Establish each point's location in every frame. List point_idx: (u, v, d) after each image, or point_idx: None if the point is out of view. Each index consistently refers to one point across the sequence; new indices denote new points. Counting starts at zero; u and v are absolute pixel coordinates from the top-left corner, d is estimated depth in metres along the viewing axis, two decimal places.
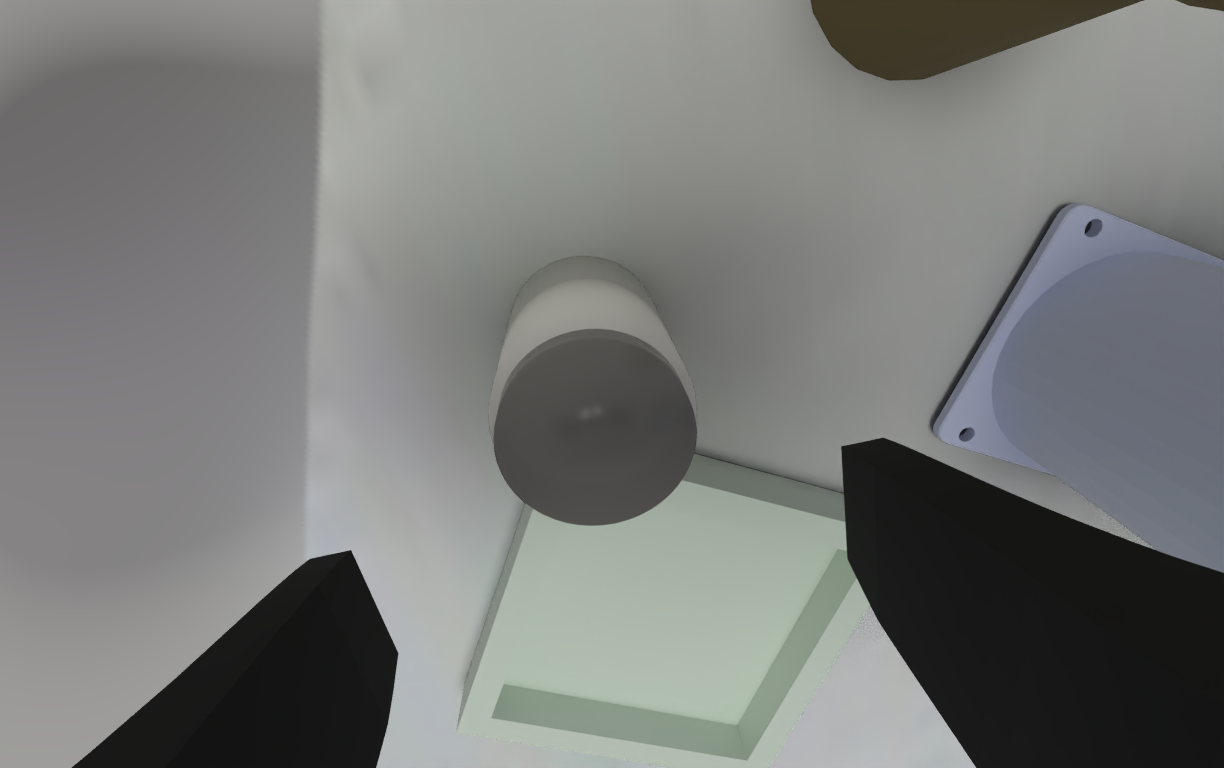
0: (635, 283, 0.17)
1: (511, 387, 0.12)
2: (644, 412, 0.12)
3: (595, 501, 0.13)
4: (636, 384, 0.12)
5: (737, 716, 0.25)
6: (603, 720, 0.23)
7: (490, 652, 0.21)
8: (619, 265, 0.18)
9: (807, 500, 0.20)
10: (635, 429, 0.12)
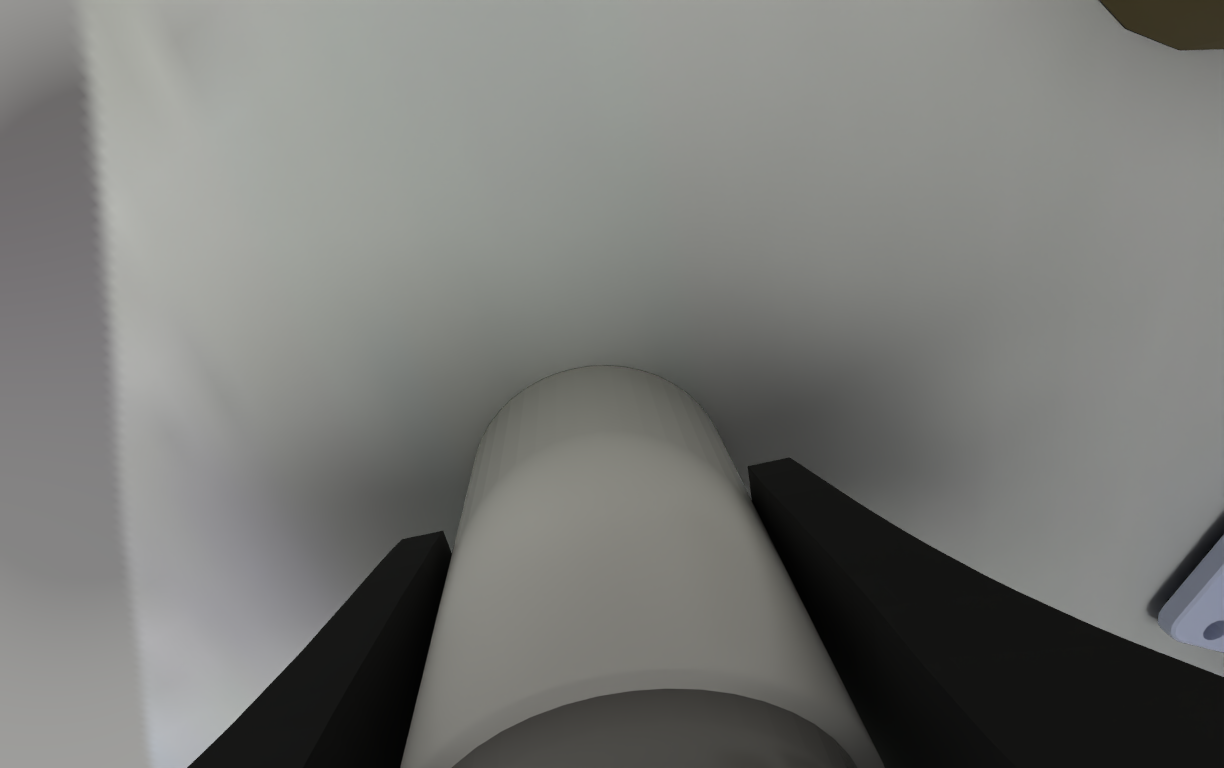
0: (700, 428, 0.09)
1: None
2: None
3: None
4: None
5: None
6: None
7: None
8: (665, 380, 0.10)
9: None
10: None
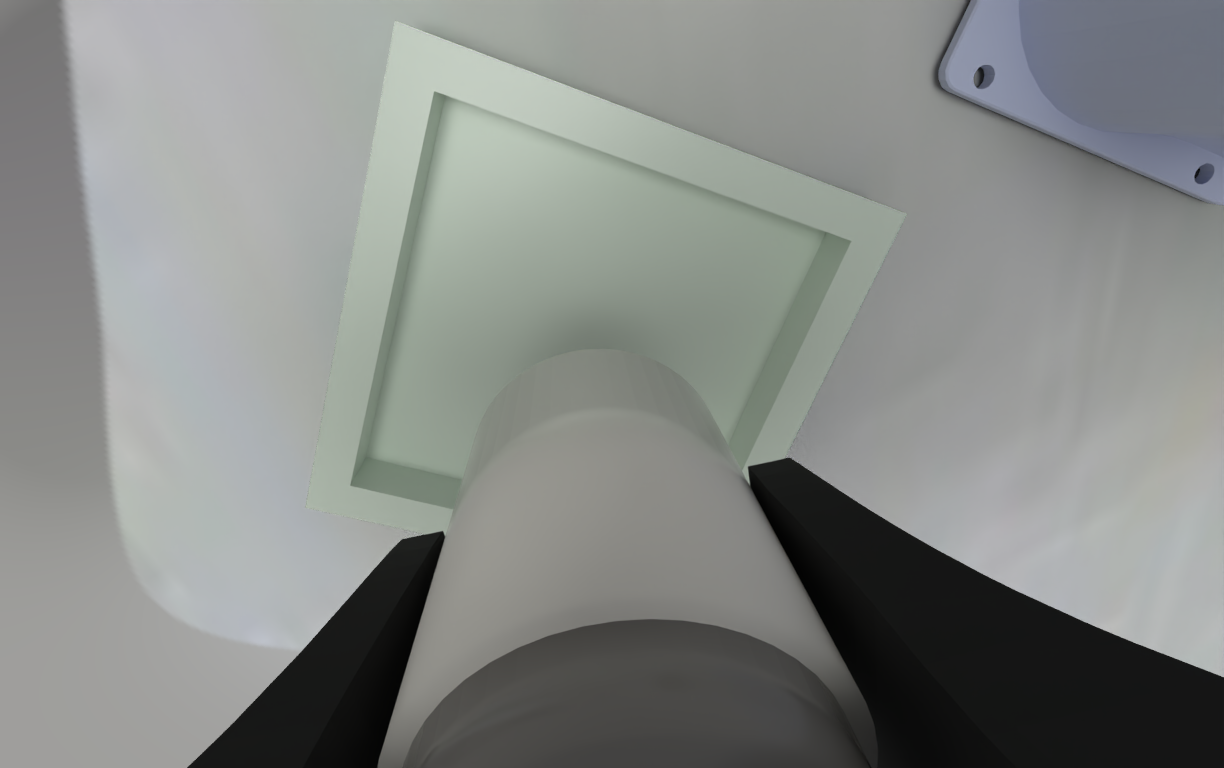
0: (693, 405, 0.09)
1: None
2: None
3: None
4: None
5: None
6: None
7: (338, 378, 0.15)
8: (659, 363, 0.10)
9: None
10: None
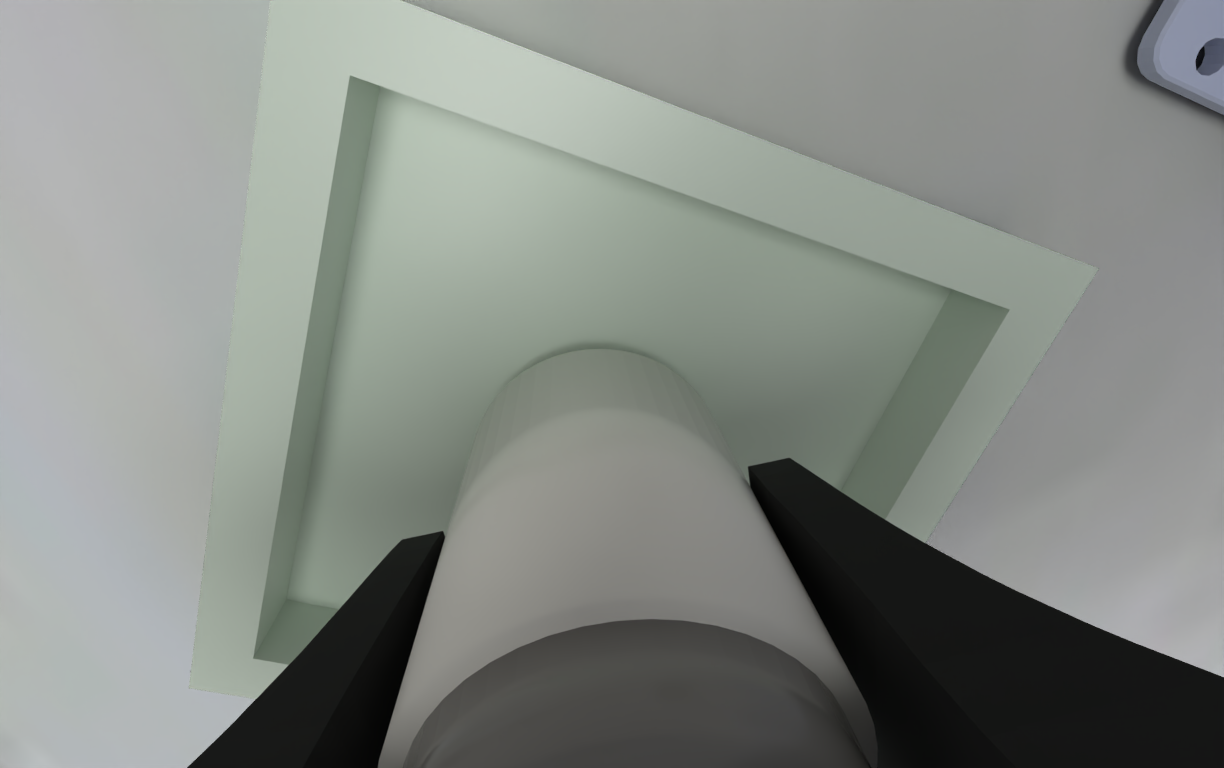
0: (693, 405, 0.09)
1: None
2: None
3: None
4: None
5: None
6: None
7: (224, 516, 0.10)
8: (659, 363, 0.10)
9: None
10: None
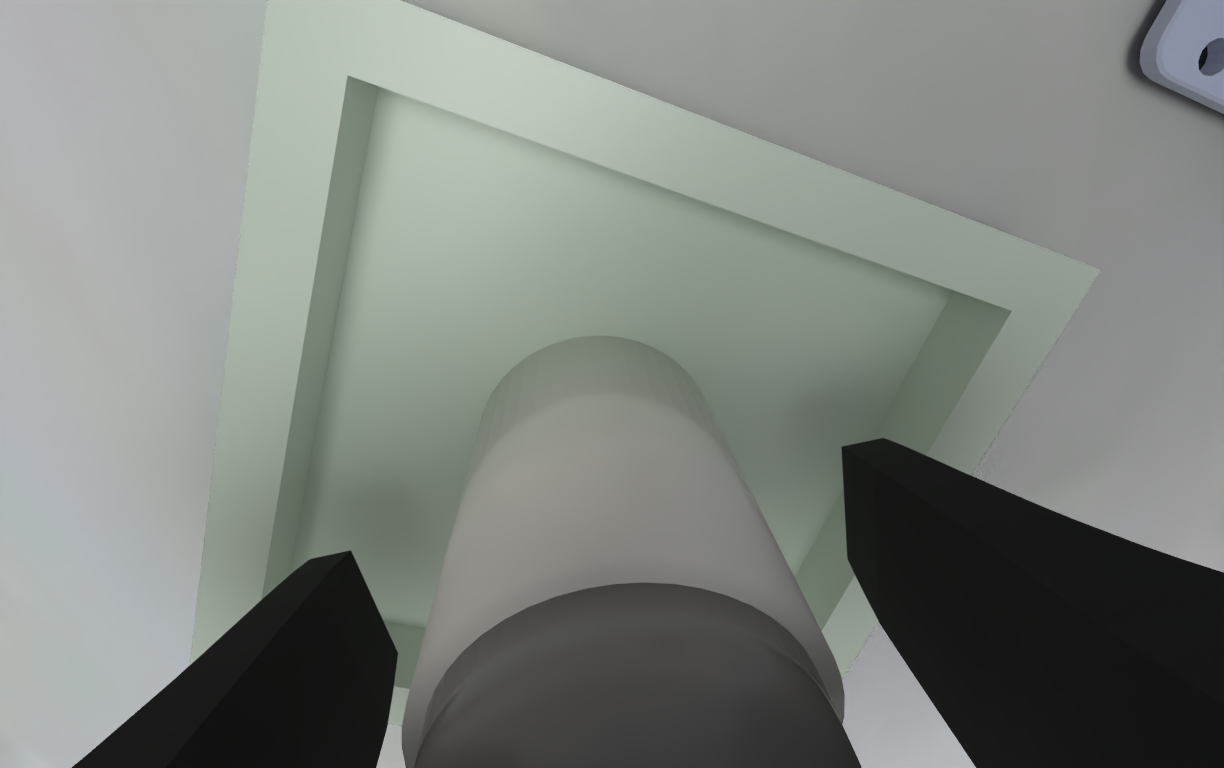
0: (686, 389, 0.10)
1: (434, 766, 0.05)
2: None
3: None
4: (741, 745, 0.05)
5: None
6: None
7: (221, 519, 0.10)
8: (655, 349, 0.11)
9: None
10: None
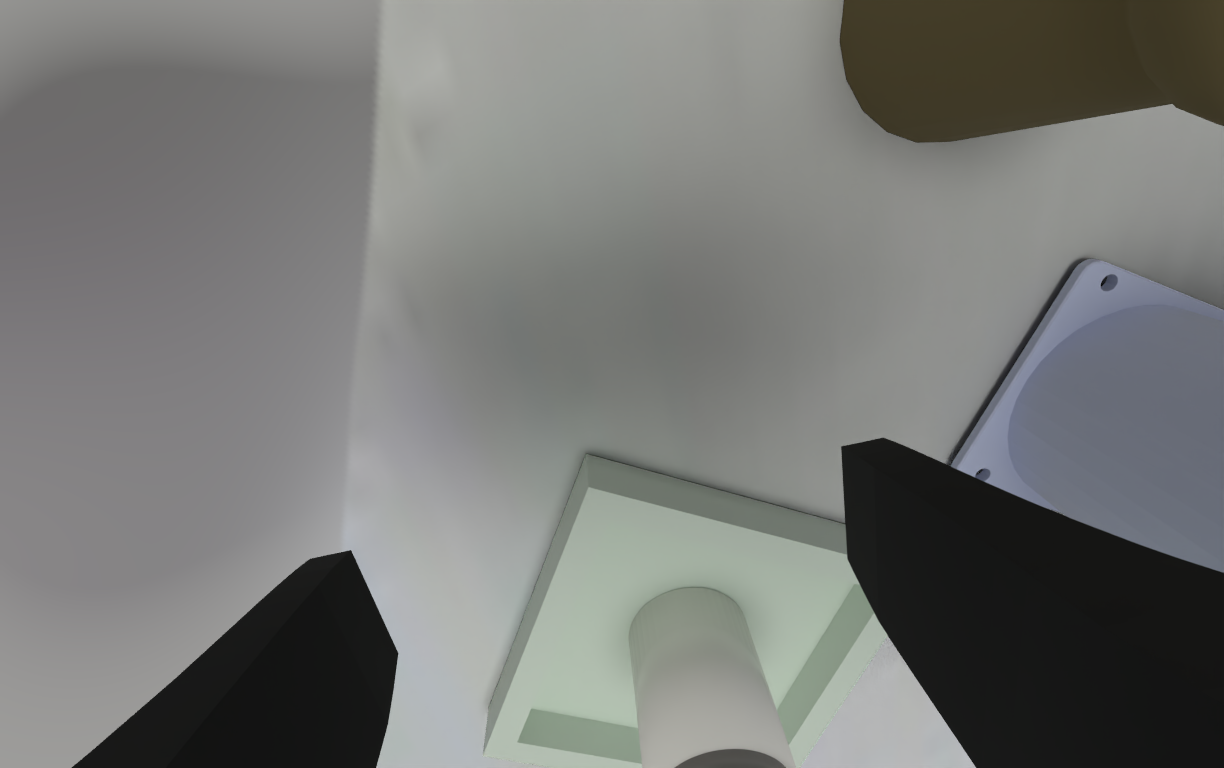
0: (737, 625, 0.21)
1: None
2: None
3: None
4: None
5: None
6: (624, 744, 0.24)
7: (519, 680, 0.21)
8: (720, 593, 0.22)
9: (828, 537, 0.21)
10: None
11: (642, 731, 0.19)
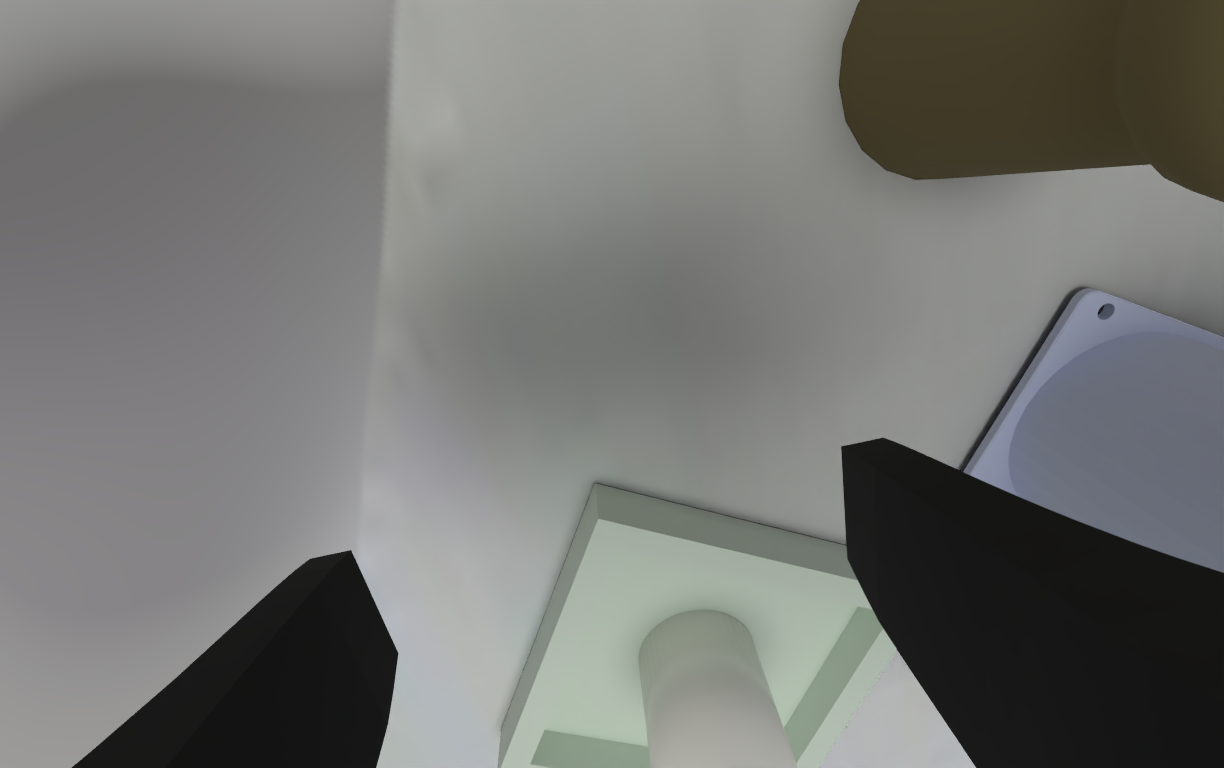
0: (747, 648, 0.22)
1: None
2: None
3: None
4: None
5: None
6: (635, 763, 0.25)
7: (531, 704, 0.22)
8: (730, 616, 0.23)
9: (833, 561, 0.21)
10: None
11: (653, 751, 0.19)
